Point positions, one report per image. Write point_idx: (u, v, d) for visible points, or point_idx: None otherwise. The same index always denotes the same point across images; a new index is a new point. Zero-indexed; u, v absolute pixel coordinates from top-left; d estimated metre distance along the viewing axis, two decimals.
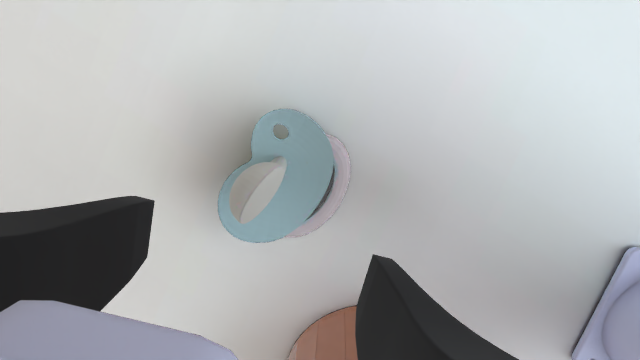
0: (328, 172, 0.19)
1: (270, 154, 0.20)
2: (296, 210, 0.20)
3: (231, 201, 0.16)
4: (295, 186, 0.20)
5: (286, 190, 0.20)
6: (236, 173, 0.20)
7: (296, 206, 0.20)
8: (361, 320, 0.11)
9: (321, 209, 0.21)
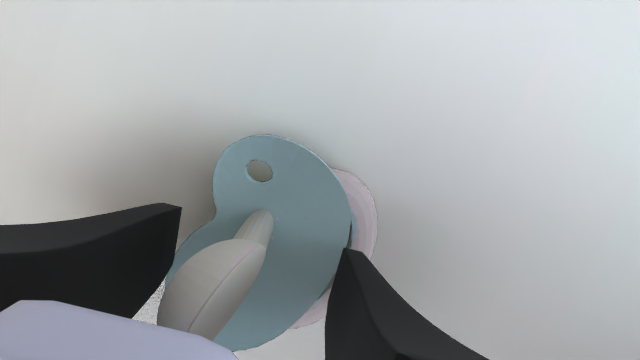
0: (342, 234, 0.12)
1: (245, 206, 0.12)
2: (293, 293, 0.13)
3: None
4: (289, 255, 0.13)
5: (275, 261, 0.13)
6: (193, 240, 0.12)
7: (293, 286, 0.13)
8: (330, 312, 0.11)
9: None
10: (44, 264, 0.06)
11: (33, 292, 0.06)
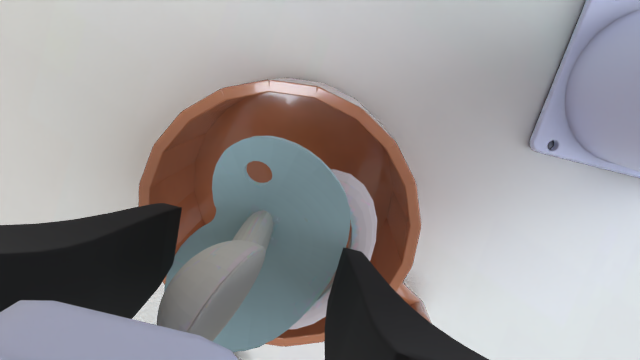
0: (342, 234, 0.12)
1: (245, 207, 0.12)
2: (293, 294, 0.13)
3: None
4: (289, 256, 0.13)
5: (275, 262, 0.13)
6: (193, 241, 0.12)
7: (293, 287, 0.13)
8: (329, 312, 0.11)
9: None
10: (44, 264, 0.06)
11: (33, 292, 0.06)
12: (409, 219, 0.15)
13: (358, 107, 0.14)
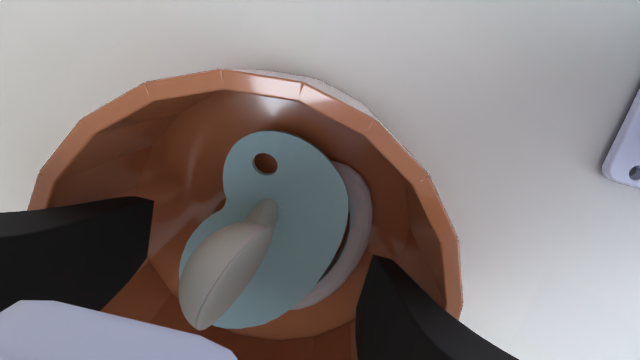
0: (341, 220, 0.13)
1: (252, 196, 0.13)
2: (296, 275, 0.14)
3: (180, 298, 0.09)
4: (293, 241, 0.14)
5: (280, 247, 0.14)
6: (204, 227, 0.14)
7: (296, 270, 0.14)
8: (361, 320, 0.11)
9: (333, 270, 0.14)
10: None
11: None
12: (445, 293, 0.10)
13: (369, 117, 0.08)
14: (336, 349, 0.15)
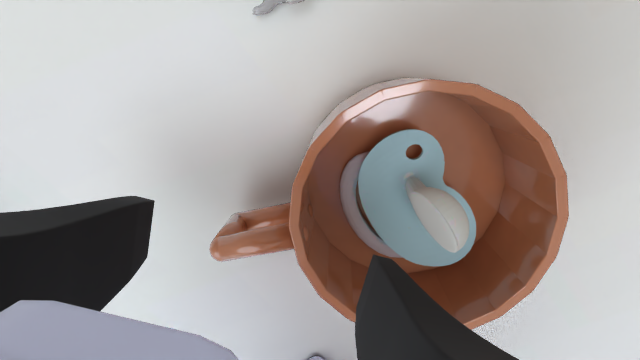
0: (391, 243, 0.20)
1: None
2: (373, 195, 0.20)
3: (457, 210, 0.15)
4: (394, 204, 0.20)
5: (395, 194, 0.20)
6: (440, 162, 0.19)
7: (376, 196, 0.20)
8: (361, 320, 0.11)
9: (357, 211, 0.20)
10: None
11: None
12: None
13: None
14: (307, 186, 0.19)
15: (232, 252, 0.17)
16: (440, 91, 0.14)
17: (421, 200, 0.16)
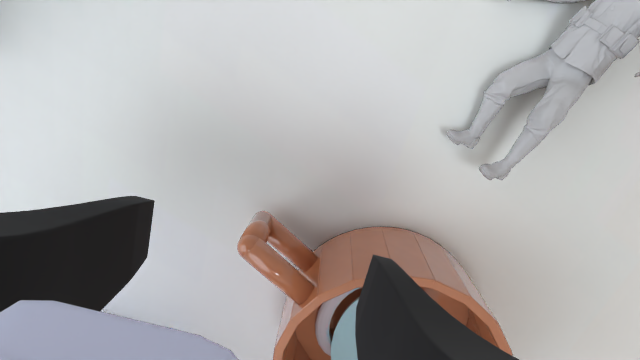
0: (334, 344, 0.22)
1: None
2: None
3: None
4: None
5: None
6: None
7: None
8: (361, 320, 0.11)
9: (339, 301, 0.22)
10: None
11: None
12: None
13: None
14: None
15: (257, 261, 0.17)
16: (493, 334, 0.17)
17: None
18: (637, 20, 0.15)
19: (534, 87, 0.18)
